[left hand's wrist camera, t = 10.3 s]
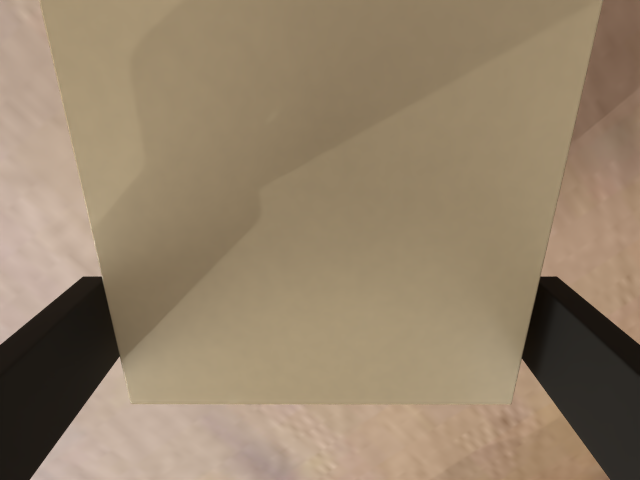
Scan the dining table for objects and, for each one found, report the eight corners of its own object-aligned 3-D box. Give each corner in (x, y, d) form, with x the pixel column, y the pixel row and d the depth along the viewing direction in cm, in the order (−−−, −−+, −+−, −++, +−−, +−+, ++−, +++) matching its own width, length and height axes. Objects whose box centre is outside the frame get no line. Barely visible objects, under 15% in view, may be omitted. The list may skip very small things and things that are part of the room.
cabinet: (164, -173, 15) (-95, -583, 6) (477, -174, 15) (739, -588, 6) (212, 263, 21) (130, 404, 12) (429, 263, 21) (511, 405, 12)
